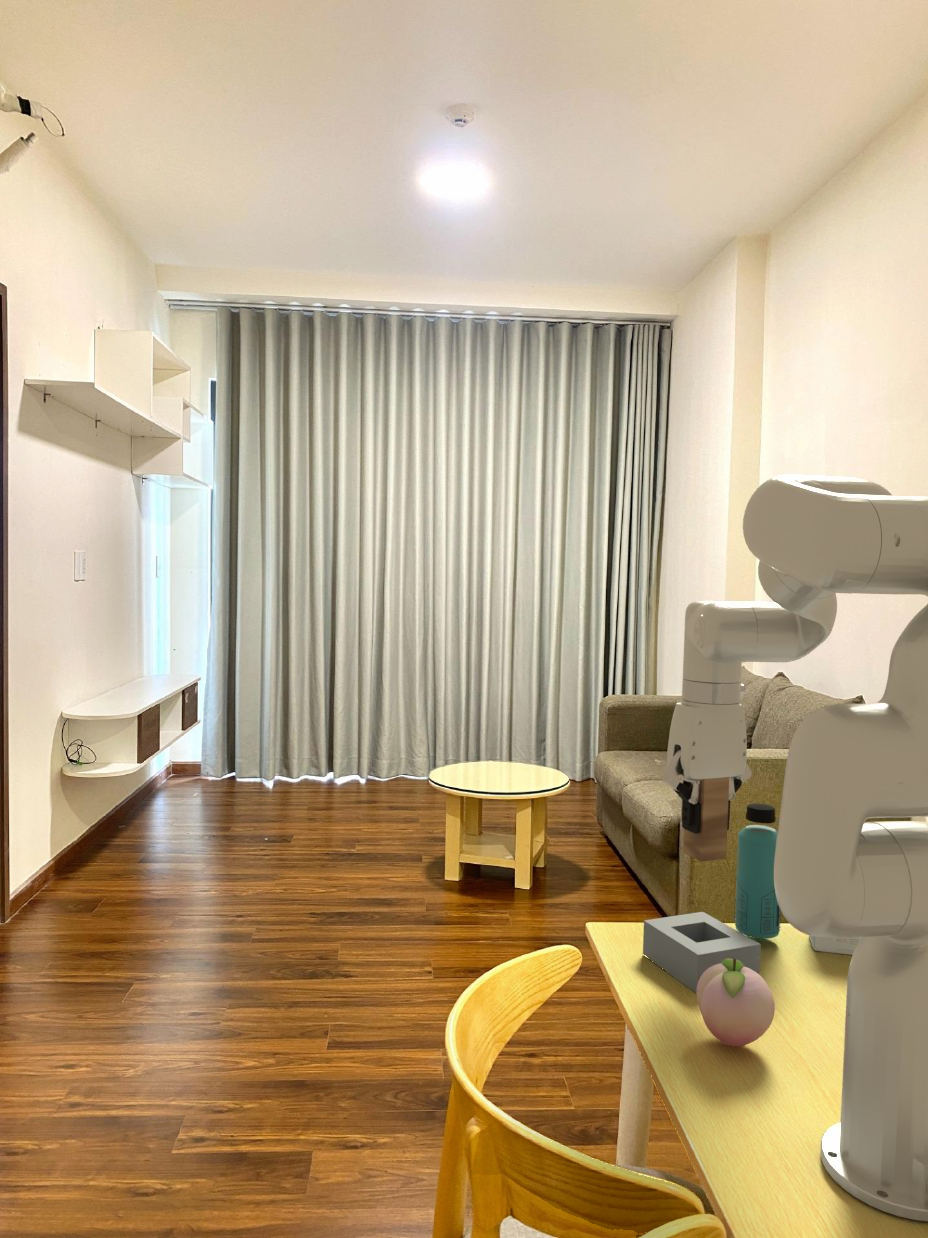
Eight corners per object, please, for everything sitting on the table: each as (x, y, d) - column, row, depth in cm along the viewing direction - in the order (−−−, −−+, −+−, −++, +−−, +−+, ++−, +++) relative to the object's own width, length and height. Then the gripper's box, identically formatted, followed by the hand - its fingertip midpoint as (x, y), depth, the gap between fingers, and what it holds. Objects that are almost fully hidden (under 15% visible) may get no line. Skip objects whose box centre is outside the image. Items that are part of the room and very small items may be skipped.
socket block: (759, 981, 118) (760, 944, 118) (696, 993, 115) (698, 955, 114) (701, 946, 129) (702, 911, 129) (642, 955, 126) (644, 920, 125)
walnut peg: (726, 858, 120) (729, 769, 120) (701, 861, 119) (705, 771, 118) (706, 849, 124) (710, 763, 123) (682, 852, 122) (686, 765, 122)
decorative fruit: (781, 1071, 97) (785, 980, 96) (703, 1065, 98) (707, 975, 97) (761, 1027, 106) (765, 944, 106) (690, 1022, 107) (693, 940, 106)
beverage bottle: (783, 951, 128) (789, 812, 127) (734, 946, 130) (740, 809, 129) (776, 934, 135) (782, 801, 134) (730, 929, 136) (735, 798, 135)
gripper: (742, 688, 127) (736, 817, 128) (641, 691, 120) (636, 827, 121) (780, 695, 120) (774, 831, 121) (675, 699, 113) (670, 843, 114)
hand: (705, 827), depth 121 cm, fingers closed on walnut peg, 4 cm apart
